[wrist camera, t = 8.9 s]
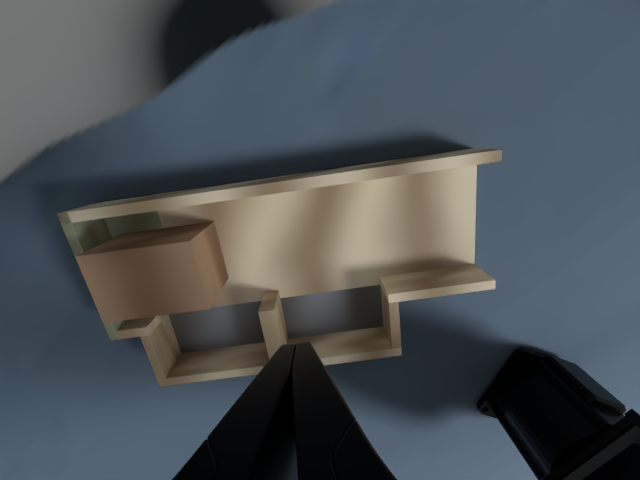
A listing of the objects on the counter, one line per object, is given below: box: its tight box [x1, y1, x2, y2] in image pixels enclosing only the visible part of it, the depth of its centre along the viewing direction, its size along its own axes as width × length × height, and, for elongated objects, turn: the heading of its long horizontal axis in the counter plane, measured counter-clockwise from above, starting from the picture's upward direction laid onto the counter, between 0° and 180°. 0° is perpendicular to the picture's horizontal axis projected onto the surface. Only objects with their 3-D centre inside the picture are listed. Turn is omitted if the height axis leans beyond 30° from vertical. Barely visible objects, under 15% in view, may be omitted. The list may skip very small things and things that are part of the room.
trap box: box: [57, 148, 502, 387], centre depth 19 cm, size 24×12×3 cm, turn 98°
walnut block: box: [75, 221, 229, 323], centre depth 18 cm, size 6×4×4 cm, turn 98°
